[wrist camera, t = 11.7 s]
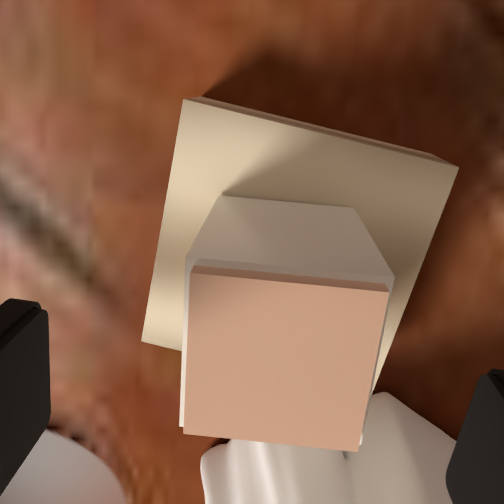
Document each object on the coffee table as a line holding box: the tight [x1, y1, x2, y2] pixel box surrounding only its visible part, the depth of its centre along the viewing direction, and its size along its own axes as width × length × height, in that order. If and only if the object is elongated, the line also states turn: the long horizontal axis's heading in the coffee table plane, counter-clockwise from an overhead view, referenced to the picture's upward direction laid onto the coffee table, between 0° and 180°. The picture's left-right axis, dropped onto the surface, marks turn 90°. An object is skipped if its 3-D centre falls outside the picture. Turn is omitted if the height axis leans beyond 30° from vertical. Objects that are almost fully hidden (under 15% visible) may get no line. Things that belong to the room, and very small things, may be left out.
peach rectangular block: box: [179, 195, 395, 452], centre depth 15 cm, size 5×5×7 cm
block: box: [141, 97, 459, 395], centre depth 20 cm, size 10×10×4 cm
